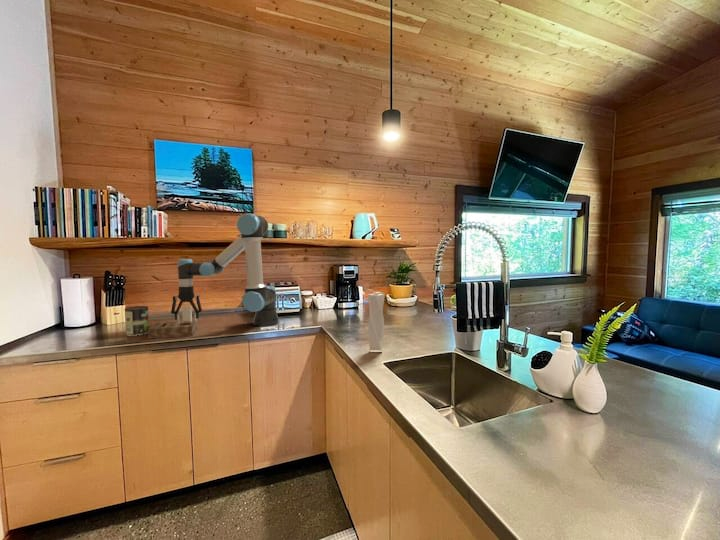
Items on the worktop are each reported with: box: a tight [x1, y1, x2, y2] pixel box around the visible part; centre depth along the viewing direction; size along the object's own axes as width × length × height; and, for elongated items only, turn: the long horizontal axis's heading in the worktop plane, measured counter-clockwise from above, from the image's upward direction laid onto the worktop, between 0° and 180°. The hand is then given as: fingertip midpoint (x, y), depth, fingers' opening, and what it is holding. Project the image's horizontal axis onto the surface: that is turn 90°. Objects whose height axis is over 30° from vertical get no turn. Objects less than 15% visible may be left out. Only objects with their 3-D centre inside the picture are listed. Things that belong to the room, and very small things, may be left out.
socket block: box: [147, 320, 199, 340], centre depth 170 cm, size 20×14×5 cm
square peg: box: [181, 305, 193, 322], centre depth 185 cm, size 4×4×12 cm
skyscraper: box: [366, 288, 386, 351], centre depth 142 cm, size 8×8×28 cm
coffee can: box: [124, 305, 150, 337], centre depth 170 cm, size 10×10×14 cm
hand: (187, 324), depth 185 cm, fingers open, 8 cm apart
